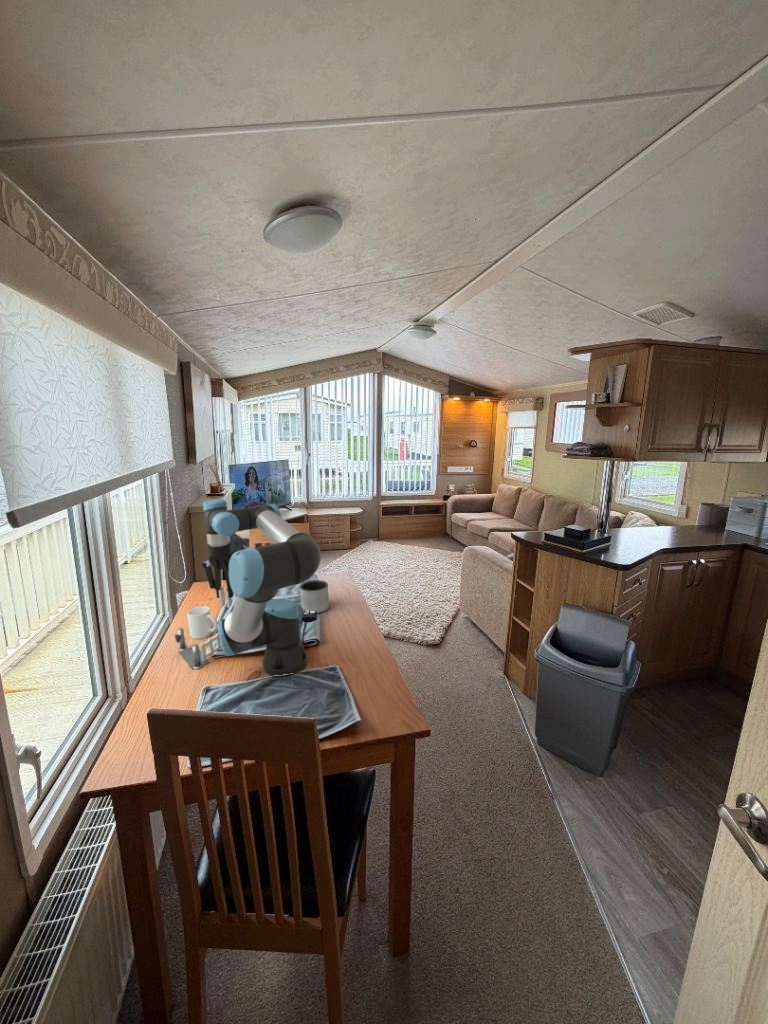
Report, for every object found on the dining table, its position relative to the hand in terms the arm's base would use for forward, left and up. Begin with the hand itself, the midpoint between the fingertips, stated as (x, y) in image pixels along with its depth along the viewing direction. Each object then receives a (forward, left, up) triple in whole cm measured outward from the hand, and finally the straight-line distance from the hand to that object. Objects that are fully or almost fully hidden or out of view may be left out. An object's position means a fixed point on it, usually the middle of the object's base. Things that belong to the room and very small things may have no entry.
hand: (226, 605), depth 153 cm
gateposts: (+7, +13, -18) cm, 23 cm away
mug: (+20, +3, -19) cm, 27 cm away
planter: (+9, -42, -19) cm, 47 cm away
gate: (+2, +5, -18) cm, 19 cm away
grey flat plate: (+6, +12, -18) cm, 23 cm away
